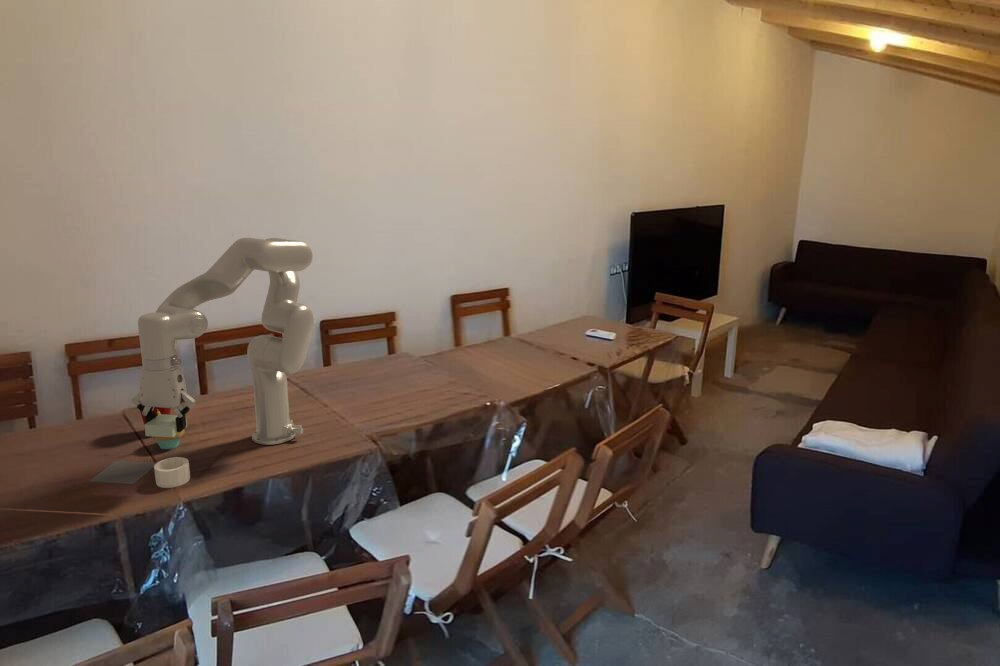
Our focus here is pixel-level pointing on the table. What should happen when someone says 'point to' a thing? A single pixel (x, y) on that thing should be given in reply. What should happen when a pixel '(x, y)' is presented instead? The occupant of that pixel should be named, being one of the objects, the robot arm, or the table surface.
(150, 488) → the table surface
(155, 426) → the block
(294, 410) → the table surface
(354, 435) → the table surface
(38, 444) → the table surface
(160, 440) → the cupcake
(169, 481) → the bowl
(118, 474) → the mat
